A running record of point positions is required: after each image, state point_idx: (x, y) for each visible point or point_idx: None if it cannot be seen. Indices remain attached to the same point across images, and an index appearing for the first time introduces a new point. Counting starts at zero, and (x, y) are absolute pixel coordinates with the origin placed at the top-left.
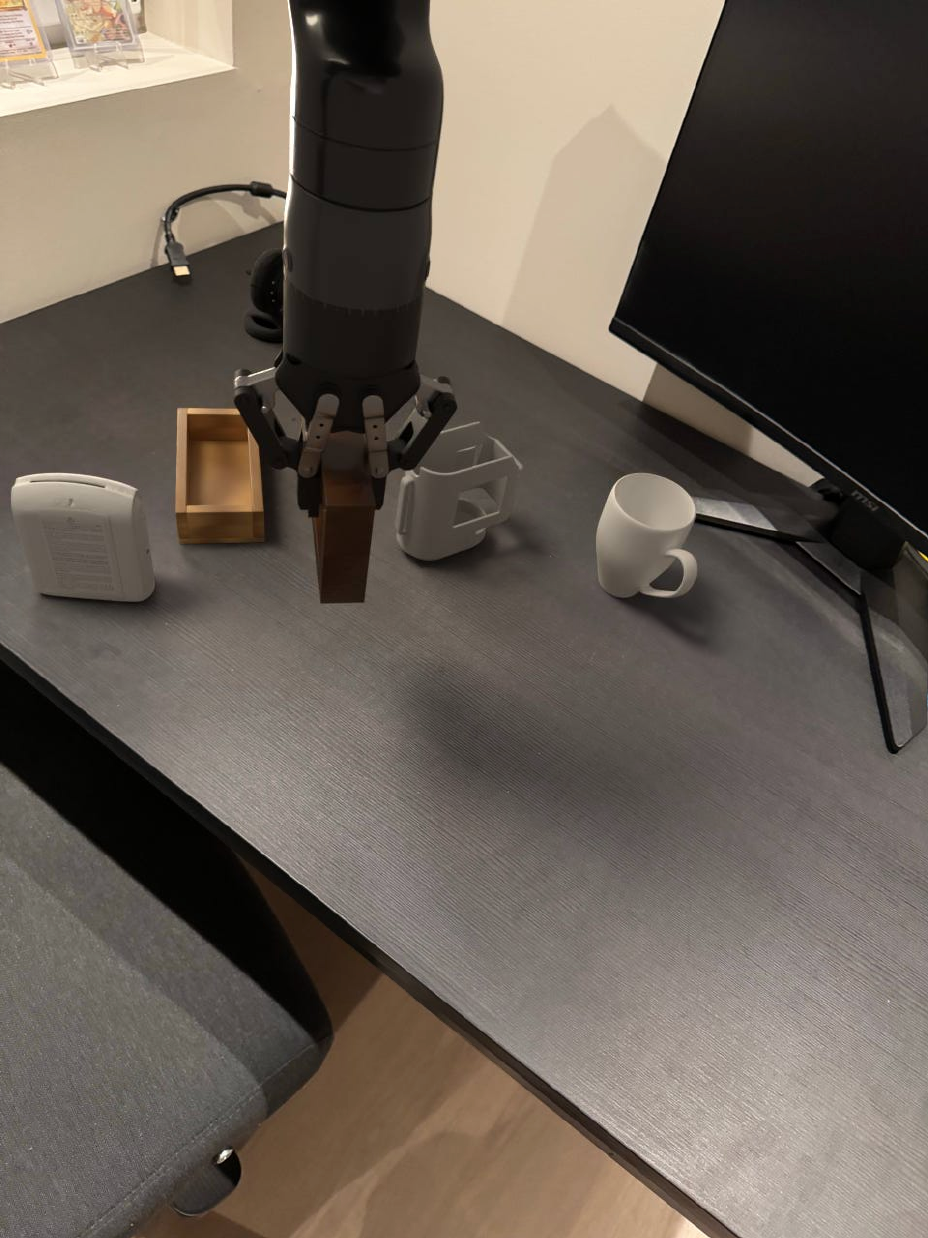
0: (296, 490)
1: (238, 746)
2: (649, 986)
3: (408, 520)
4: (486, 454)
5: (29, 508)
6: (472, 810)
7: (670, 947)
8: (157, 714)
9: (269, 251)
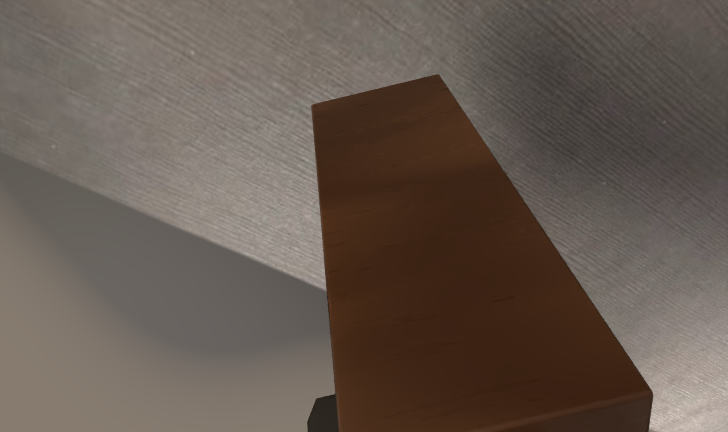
0: (308, 424)
1: (248, 179)
2: (683, 335)
3: None
4: None
5: None
6: (553, 212)
7: (720, 306)
8: (116, 151)
9: None
